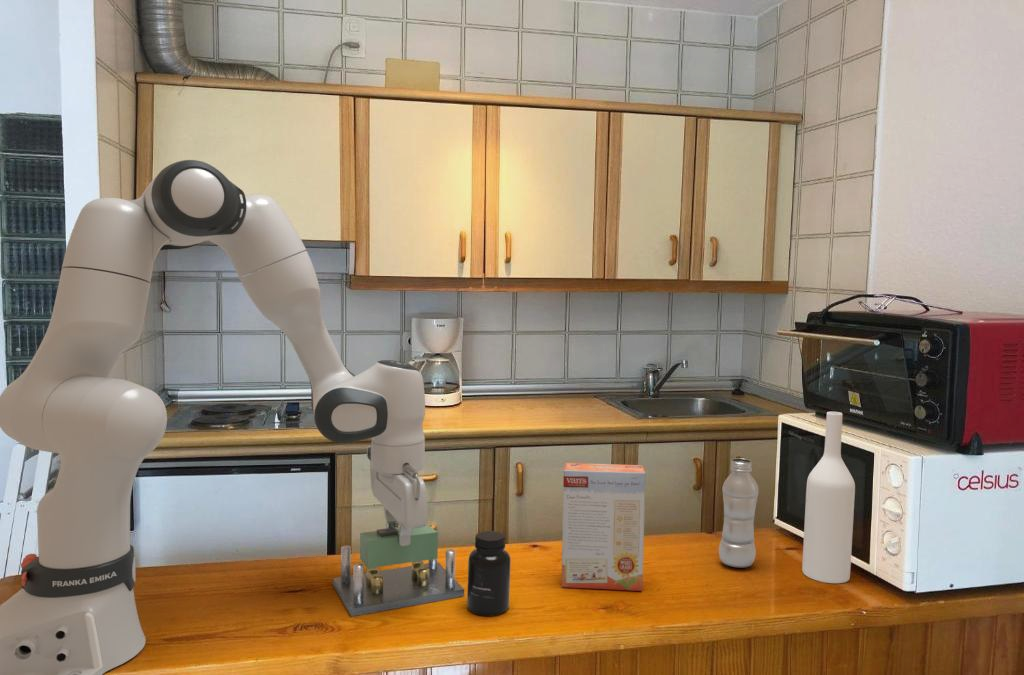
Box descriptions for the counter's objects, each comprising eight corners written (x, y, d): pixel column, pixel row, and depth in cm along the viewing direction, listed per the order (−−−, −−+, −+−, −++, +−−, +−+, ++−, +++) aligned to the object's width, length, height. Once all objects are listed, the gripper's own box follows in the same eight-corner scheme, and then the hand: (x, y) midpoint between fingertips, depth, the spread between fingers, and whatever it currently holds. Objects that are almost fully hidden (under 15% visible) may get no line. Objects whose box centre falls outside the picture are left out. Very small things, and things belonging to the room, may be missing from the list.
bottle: (855, 585, 133) (865, 418, 130) (807, 582, 134) (816, 415, 131) (843, 568, 141) (852, 409, 138) (797, 564, 142) (805, 407, 139)
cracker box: (640, 578, 134) (644, 463, 132) (642, 593, 128) (646, 472, 126) (561, 574, 135) (564, 460, 134) (560, 588, 129) (563, 469, 128)
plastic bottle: (711, 560, 143) (715, 457, 141) (742, 557, 145) (746, 455, 144) (730, 573, 137) (735, 466, 135) (762, 570, 139) (767, 463, 137)
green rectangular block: (427, 550, 132) (427, 521, 132) (437, 558, 127) (437, 528, 127) (360, 559, 127) (360, 529, 126) (367, 568, 122) (367, 537, 122)
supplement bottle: (472, 619, 117) (473, 544, 116) (463, 600, 124) (464, 529, 123) (514, 614, 119) (516, 541, 118) (503, 596, 126) (504, 526, 125)
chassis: (351, 616, 117) (351, 572, 117) (333, 585, 129) (332, 544, 128) (464, 596, 126) (464, 554, 125) (437, 568, 137) (438, 529, 137)
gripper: (437, 470, 118) (437, 556, 119) (398, 442, 136) (398, 517, 137) (398, 475, 115) (398, 562, 116) (364, 445, 133) (364, 521, 134)
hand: (398, 537), depth 127 cm, fingers closed on green rectangular block, 5 cm apart
